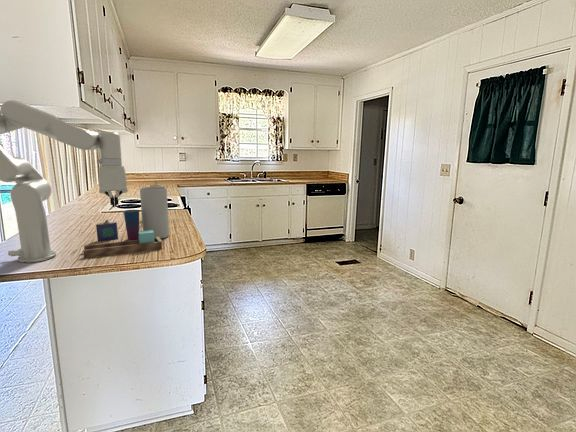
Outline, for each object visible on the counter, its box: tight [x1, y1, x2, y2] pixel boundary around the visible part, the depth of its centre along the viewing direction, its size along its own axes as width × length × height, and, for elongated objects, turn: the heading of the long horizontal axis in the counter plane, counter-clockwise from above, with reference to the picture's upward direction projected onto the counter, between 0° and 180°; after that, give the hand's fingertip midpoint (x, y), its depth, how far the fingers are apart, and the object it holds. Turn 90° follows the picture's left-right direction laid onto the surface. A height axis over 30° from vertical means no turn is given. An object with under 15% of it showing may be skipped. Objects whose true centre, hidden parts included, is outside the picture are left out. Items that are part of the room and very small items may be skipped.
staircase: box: [149, 180, 166, 187], centre depth 213 cm, size 8×12×26 cm
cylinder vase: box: [139, 186, 170, 240], centre depth 171 cm, size 12×12×25 cm
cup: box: [123, 209, 140, 241], centre depth 164 cm, size 7×7×15 cm
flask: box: [95, 219, 119, 242], centre depth 163 cm, size 9×3×11 cm, turn 135°
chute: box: [82, 237, 163, 259], centre depth 147 cm, size 30×10×4 cm, turn 118°
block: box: [138, 230, 155, 244], centre depth 151 cm, size 6×5×7 cm
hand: (114, 206), depth 142 cm, fingers closed
